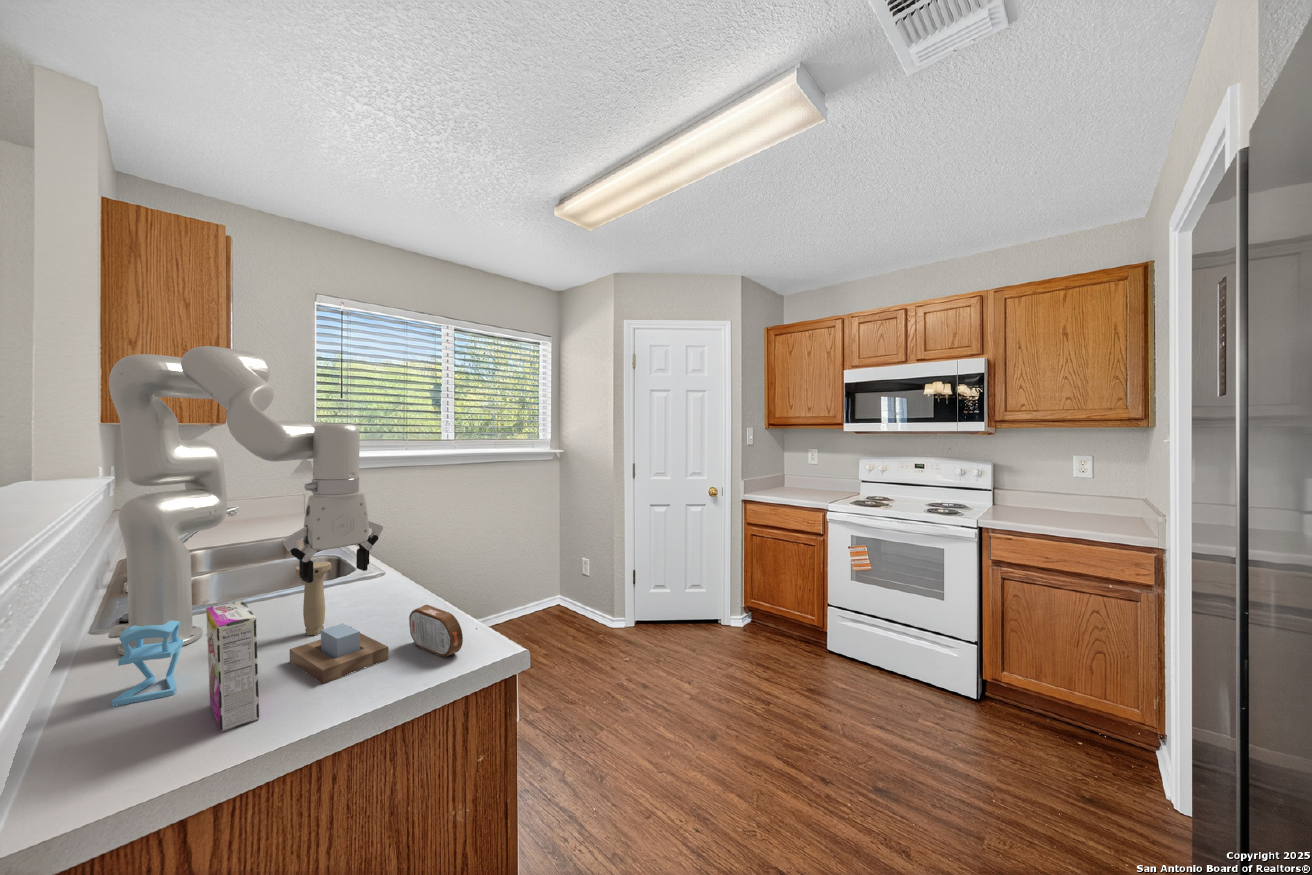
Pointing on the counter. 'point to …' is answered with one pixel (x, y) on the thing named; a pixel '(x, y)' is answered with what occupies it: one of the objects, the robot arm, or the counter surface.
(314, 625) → the handle
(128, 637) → the chair
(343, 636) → the blue peg
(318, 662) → the socket block
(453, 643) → the tin
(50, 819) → the counter surface
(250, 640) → the candy bar box
